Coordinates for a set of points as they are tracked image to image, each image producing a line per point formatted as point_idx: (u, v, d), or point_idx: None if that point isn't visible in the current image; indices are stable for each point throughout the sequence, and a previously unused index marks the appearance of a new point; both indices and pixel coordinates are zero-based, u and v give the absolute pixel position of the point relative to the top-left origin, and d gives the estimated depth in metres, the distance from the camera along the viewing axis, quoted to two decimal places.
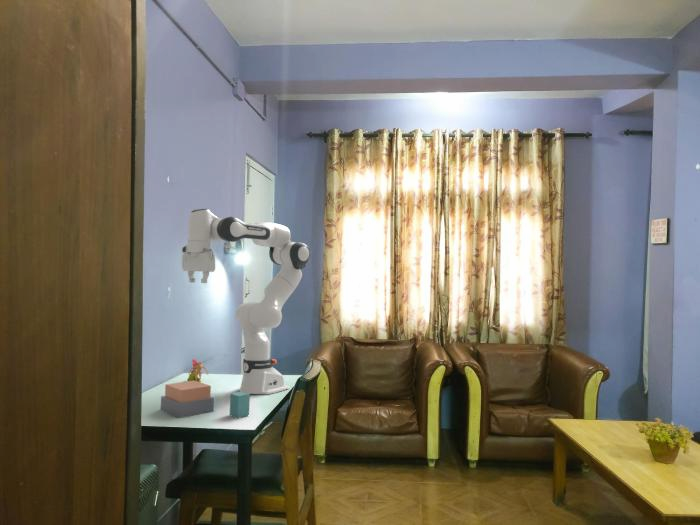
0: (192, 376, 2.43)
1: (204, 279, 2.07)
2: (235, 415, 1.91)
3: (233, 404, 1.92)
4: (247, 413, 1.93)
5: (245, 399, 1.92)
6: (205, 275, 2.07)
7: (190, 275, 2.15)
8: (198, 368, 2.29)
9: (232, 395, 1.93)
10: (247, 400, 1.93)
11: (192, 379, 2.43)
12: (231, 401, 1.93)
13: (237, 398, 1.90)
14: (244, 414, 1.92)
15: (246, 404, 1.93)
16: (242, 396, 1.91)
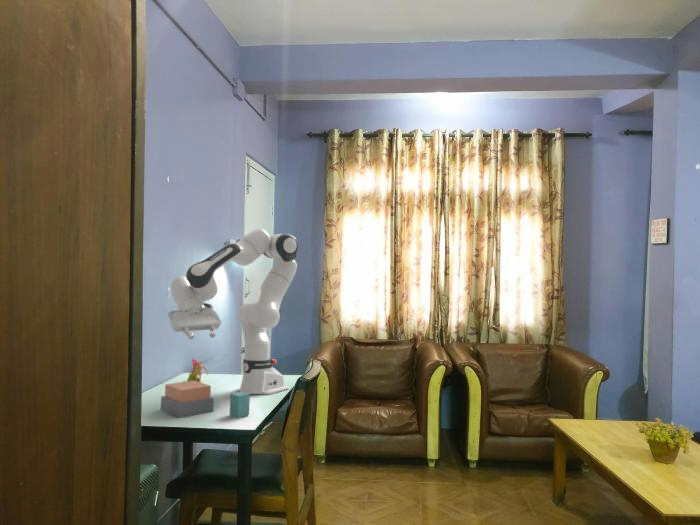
0: (192, 376, 2.43)
1: (188, 335, 2.02)
2: (235, 415, 1.91)
3: (233, 404, 1.92)
4: (247, 413, 1.93)
5: (245, 399, 1.92)
6: (184, 332, 2.03)
7: (211, 331, 2.11)
8: (198, 368, 2.29)
9: (232, 395, 1.93)
10: (247, 400, 1.93)
11: (192, 379, 2.43)
12: (231, 401, 1.93)
13: (237, 398, 1.90)
14: (244, 414, 1.92)
15: (246, 404, 1.93)
16: (242, 396, 1.91)
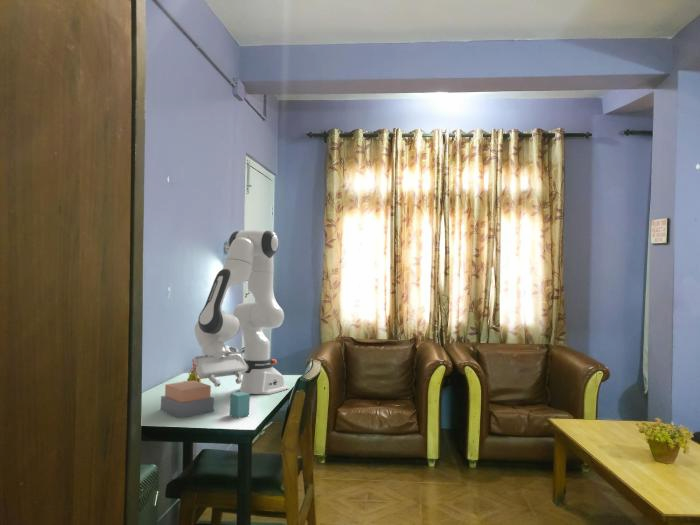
0: (192, 376, 2.43)
1: (214, 383, 1.95)
2: (235, 415, 1.91)
3: (233, 404, 1.92)
4: (247, 413, 1.93)
5: (245, 399, 1.92)
6: (210, 379, 1.95)
7: (237, 377, 2.03)
8: None
9: (232, 395, 1.93)
10: (247, 400, 1.93)
11: (192, 379, 2.43)
12: (231, 401, 1.93)
13: (237, 398, 1.90)
14: (244, 414, 1.92)
15: (246, 404, 1.93)
16: (242, 396, 1.91)
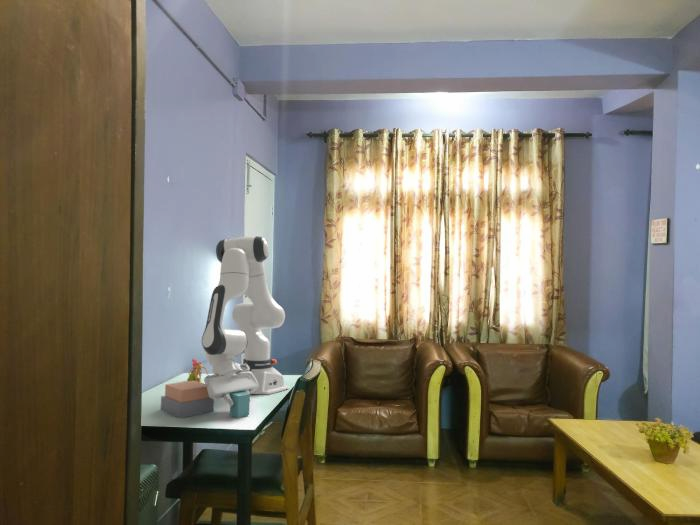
0: (192, 376, 2.43)
1: (229, 402, 1.91)
2: (235, 415, 1.91)
3: None
4: (247, 413, 1.93)
5: (245, 399, 1.92)
6: (225, 399, 1.91)
7: None
8: (198, 368, 2.29)
9: (232, 395, 1.93)
10: (247, 400, 1.93)
11: (192, 379, 2.43)
12: None
13: (237, 398, 1.90)
14: (244, 414, 1.92)
15: (246, 404, 1.93)
16: (242, 396, 1.91)
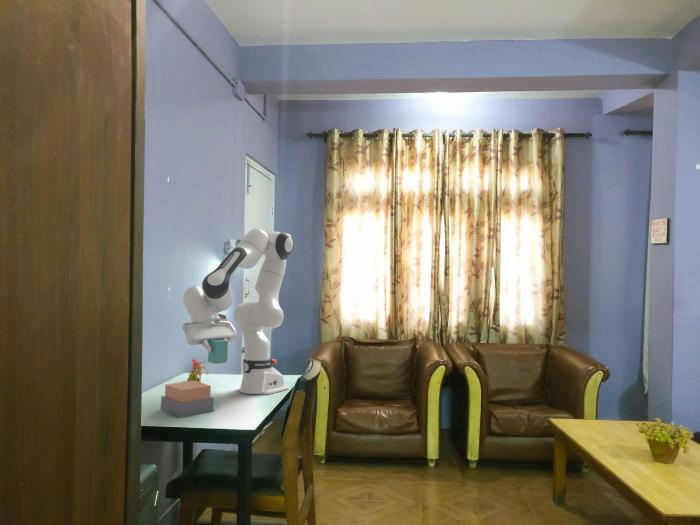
0: (192, 376, 2.43)
1: (207, 348, 1.93)
2: (213, 361, 1.93)
3: None
4: (225, 359, 1.95)
5: (223, 346, 1.95)
6: (204, 345, 1.93)
7: None
8: (198, 368, 2.29)
9: (210, 342, 1.95)
10: (225, 347, 1.95)
11: (192, 379, 2.43)
12: None
13: (215, 344, 1.93)
14: (222, 360, 1.94)
15: (224, 351, 1.95)
16: (220, 342, 1.94)
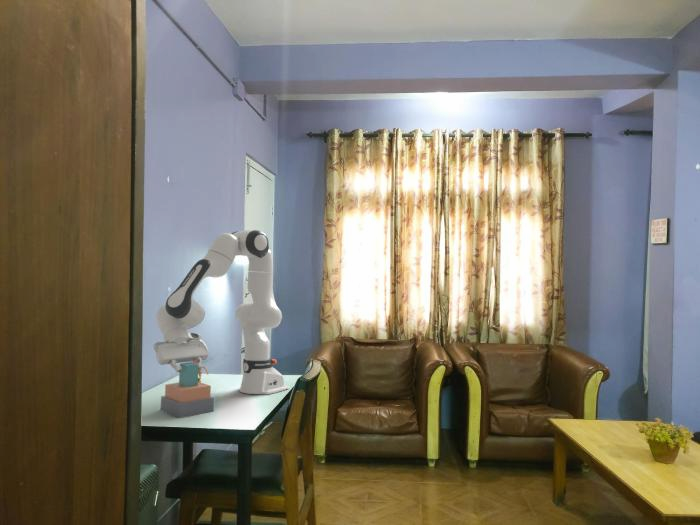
0: None
1: (175, 368, 1.95)
2: (183, 384, 1.95)
3: (182, 373, 1.96)
4: (196, 383, 1.98)
5: (194, 369, 1.97)
6: (172, 365, 1.95)
7: (198, 363, 2.03)
8: None
9: (181, 365, 1.97)
10: (196, 370, 1.97)
11: None
12: None
13: (185, 368, 1.95)
14: (193, 383, 1.97)
15: (195, 374, 1.97)
16: (190, 366, 1.96)
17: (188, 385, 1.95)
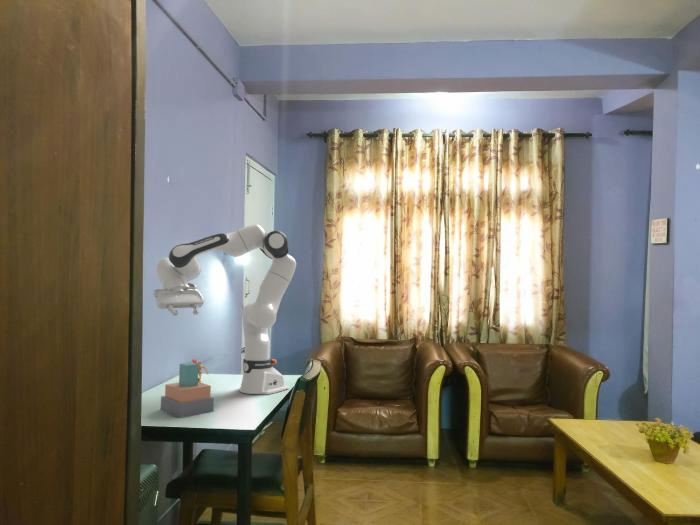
0: None
1: (172, 312, 2.15)
2: (183, 384, 1.95)
3: (182, 373, 1.96)
4: (196, 383, 1.98)
5: (194, 369, 1.97)
6: (169, 309, 2.15)
7: (195, 309, 2.24)
8: (198, 368, 2.29)
9: (181, 365, 1.97)
10: (196, 370, 1.97)
11: None
12: (180, 371, 1.97)
13: (185, 368, 1.95)
14: (193, 383, 1.97)
15: (195, 374, 1.97)
16: (190, 366, 1.96)
17: (188, 385, 1.95)
